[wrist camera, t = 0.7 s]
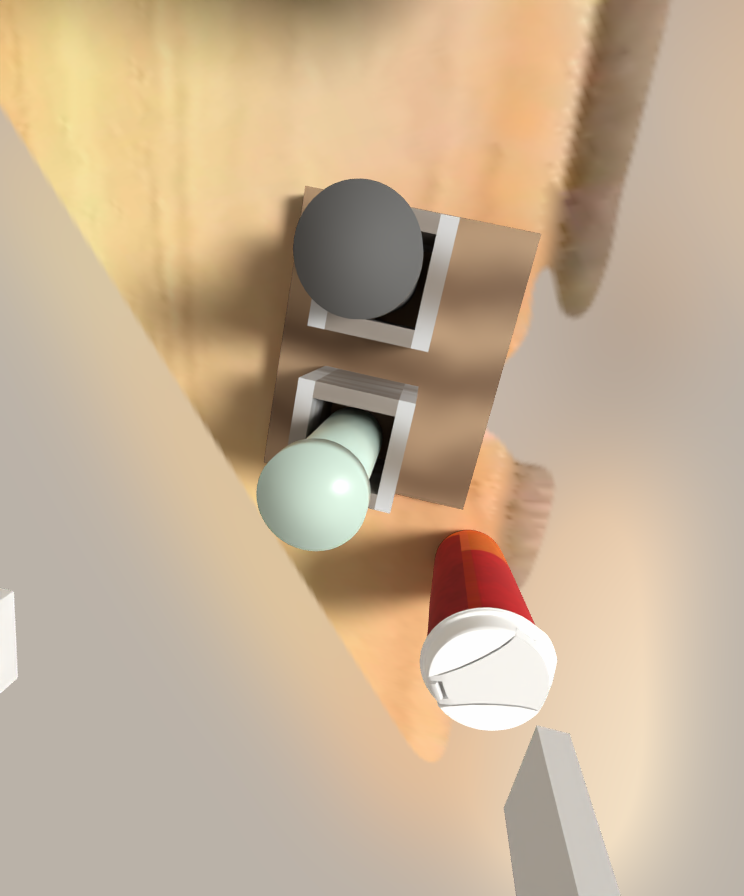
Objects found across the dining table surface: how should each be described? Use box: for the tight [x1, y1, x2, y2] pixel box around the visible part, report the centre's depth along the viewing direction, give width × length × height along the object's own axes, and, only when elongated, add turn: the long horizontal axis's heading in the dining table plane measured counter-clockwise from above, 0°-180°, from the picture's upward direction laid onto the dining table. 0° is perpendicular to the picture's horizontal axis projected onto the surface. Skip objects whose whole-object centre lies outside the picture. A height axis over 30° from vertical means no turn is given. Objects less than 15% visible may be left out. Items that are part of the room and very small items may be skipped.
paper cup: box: [420, 530, 557, 730], centre depth 33 cm, size 8×8×14 cm
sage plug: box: [257, 407, 383, 551], centre depth 26 cm, size 5×5×11 cm
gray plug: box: [293, 179, 423, 319], centre depth 23 cm, size 5×5×11 cm
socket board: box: [264, 186, 541, 513], centre depth 32 cm, size 20×16×10 cm
